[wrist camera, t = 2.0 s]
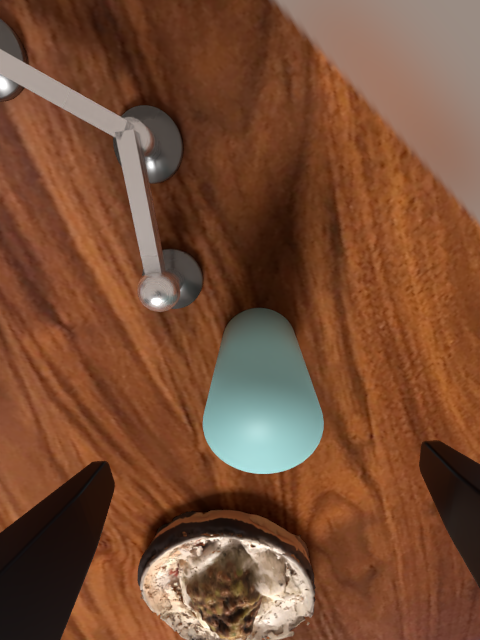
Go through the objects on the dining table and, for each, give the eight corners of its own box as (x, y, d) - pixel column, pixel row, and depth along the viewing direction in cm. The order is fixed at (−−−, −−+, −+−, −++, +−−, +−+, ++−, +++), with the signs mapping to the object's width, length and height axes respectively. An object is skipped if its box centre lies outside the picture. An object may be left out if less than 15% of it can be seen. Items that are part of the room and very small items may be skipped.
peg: (297, 372, 17) (324, 470, 11) (227, 377, 18) (211, 476, 11) (293, 304, 16) (322, 368, 9) (217, 311, 16) (194, 378, 10)
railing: (207, 303, 16) (195, 327, 13) (44, 319, 17) (-7, 345, 14) (159, -16, 12) (122, -106, 9) (-56, 20, 13) (-166, -48, 9)
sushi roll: (96, 510, 22) (62, 574, 18) (299, 466, 20) (310, 527, 16) (172, 633, 27) (158, 706, 23) (345, 607, 25) (362, 681, 21)
